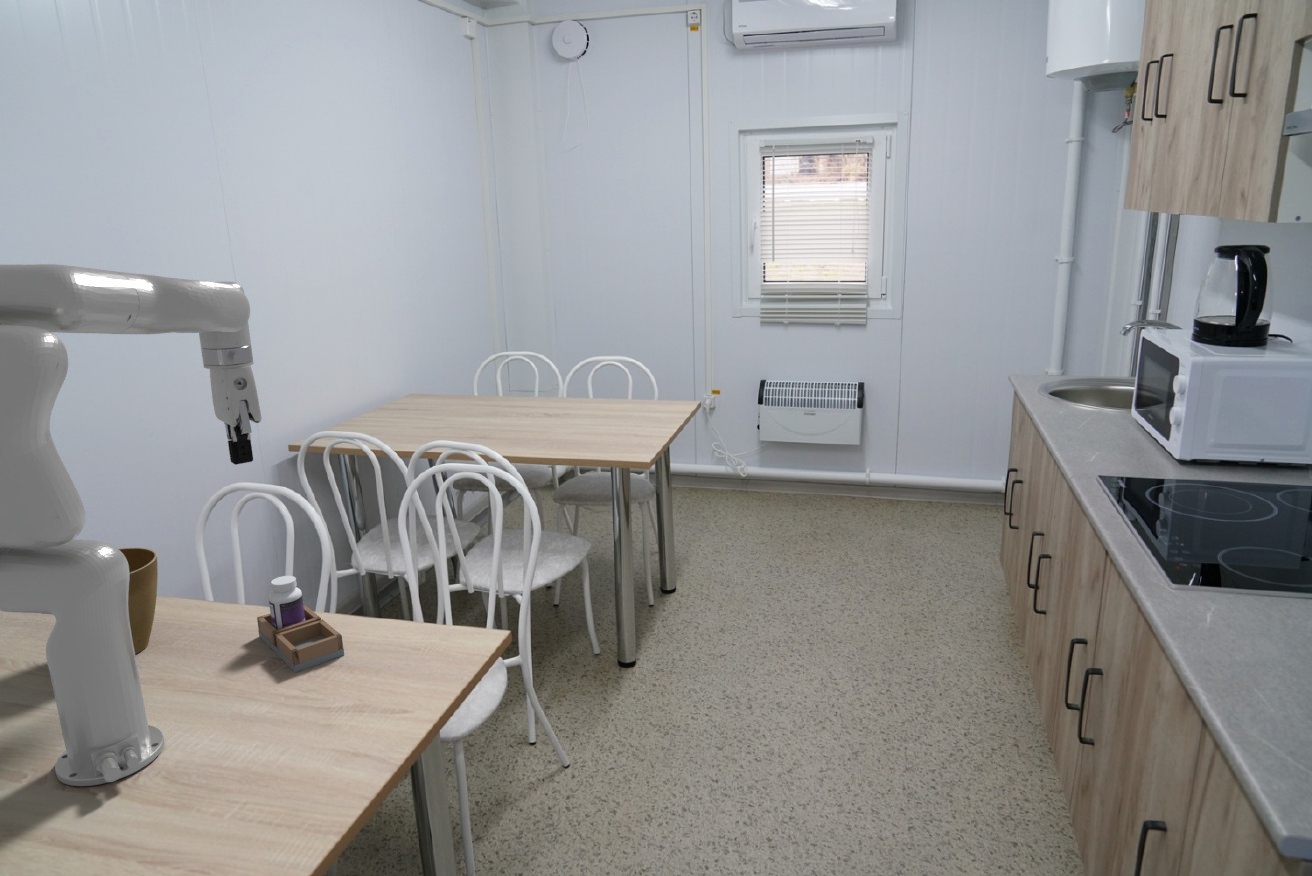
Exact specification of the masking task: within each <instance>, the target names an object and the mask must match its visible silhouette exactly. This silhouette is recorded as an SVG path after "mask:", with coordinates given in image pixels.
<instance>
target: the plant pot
mask: <svg viewBox="0 0 1312 876" xmlns="http://www.w3.org/2000/svg"><path fill="white" fill-rule="evenodd" d="M118 549H119V550H120V551H121V552H122V553H123V554H124V556H125V557H126V559H127V561H128V565H129V573H130V574H129V592H128V611H129V621H130V628H131V634H132V640H133V645H134V651H135V655H136V654H139V653H140V652H142V651H144V650H145V649H146V648H147V647H148V646H149V641H150V638H151V635H152V634H151V633H152V629H153V624H154V618H155V613H156V612H155V611H156V606H157V595H158V593H157V592H158V553H157V552H156V551H155V550H153V549H152V548H151V549H150V548H146V547H123V548H118Z"/></svg>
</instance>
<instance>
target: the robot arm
mask: <svg viewBox="0 0 1312 876" xmlns="http://www.w3.org/2000/svg"><path fill="white" fill-rule="evenodd" d="M250 316H251V307H250V302H249V300H248V298H247V295H246V294H245V290H244V288H243V286H242V285H241V284H240V283H238V282H234V281H207V280H197V279H184V278H173V277H166V276H159V275H152V274H151V275H150V274H144V273H143V274H141V273H132V272H124V271H113V270H105V269H97V268H91V267H90V268H89V267H83V266H82V267H81V266H75V265H67V264H56V263H55V264H51V263H46V264H45V263H44V264H41V263H40V264H37V263H36V264H0V612H5V613H27V614H44V615H52V616H53V617H54V618H55V624H54V625H53V628H52V631H50V634H49V636H48V639H47V640H46V645H45V657H46V663H47V668H48V671H49V675H50V681H51V685H52V690H53V694H54V699H55V703H56V709H57V714H58V719H59V723H60V727H61V733H62V736H63V737H62V738H63V741H64V746H65V747H64V748H65V751H64V752H62V754H60V756H59V757H58V759H57V761H56V762H55V767H54V772H55V774H56V778H57V779H58V781H60V782H61V783H63V784H64V785H68V786H74V787H89V786H90V787H91V786H99V785H102V784H107V783H113V782H116V781H118V780H120V779H123V778H125V777H128V776H130V775H132V774H135V773H136V772H138V771H140V770H141V769H143V768H144V767H146V766H147V765H149V764H150V763H152V762H153V761H154V760H155V759H156V758H157V757H158V756H159V755H160V754H161V752H162V750H163V749H164V746H165V739H164V738H165V737H164V733H163V732H162V730H160V729H159V728H158V727H156V726H154V725H149V723H148V718H147V713H146V712H147V711H146V706H145V702H144V695H143V689H142V684H141V679H140V674H139V669H138V663H137V657H136V654H135V651H134V645H133V640H132V634H131V628H130V621H129V611H128V592H129V574H130V573H129V565H128V561H127V559H126V557H125V556H124V554H123V553H122V552H121V551H120V550H119V549H120V548H117V547H116V546H114V545H112V544H109V543H107V542H103V541H98V540H91V539H76V538H77V537H78V536H79V535H80V534H81V532H82V530H83V529H84V527H85V525H86V524H85V523H86V510H85V507H84V503H83V501H82V499H81V496H80V494H79V492H78V490H77V487H76V486H75V483H74V482H73V480H72V477H71V476H70V474H69V472H68V470H67V468H66V466H65V464H64V462H63V460H62V458H61V456H60V454H59V453H58V450H57V448H56V445H55V442H54V440H53V438H52V434H51V430H50V423H51V416H52V411H53V409H54V406H55V402H56V400H57V398H58V395H59V393H60V391H61V389H62V387H63V384H64V382H65V381H66V377H67V375H68V368H69V355H68V351H67V349H66V346H65V344H64V343H63V341H62V340H61V339H60V337H59V336H57V335H56V334H54V333H57V334H58V333H59V334H60V333H63V334H64V333H66V334H101V335H103V334H105V335H106V334H108V335H109V334H110V335H158V334H159V335H160V334H171V333H173V334H174V333H177V334H198V336H199V337H198V338H199V343H200V349H201V357H202V364H203V368H204V369H208V370H209V377H210V389H211V398H212V405H213V409H214V415H215V417H216V418H217V420H219V421H221V422H222V423H224V427H225V433H226V438H227V444H228V445H227V446H228V451H229V452H228V453H229V458H230V462H231V463H232V464H233V465H241V464H247V463H252V462H253V461H254V455H253V449H252V448H253V447H252V438H251V433H252V432H253V431H252V427H251V423H250V421H251V422H253V423H255V424H259V423H261V421H262V414H261V413H262V412H261V407H260V401H259V396H258V391H257V385H256V381H255V376H254V373H253V372H254V371H253V370H252V365H254V356H253V349H252V343H251V342H252V341H251V335H250V334H251V333H250V326H249V320H250Z"/></svg>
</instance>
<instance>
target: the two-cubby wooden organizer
mask: <svg viewBox="0 0 1312 876" xmlns="http://www.w3.org/2000/svg"><path fill="white" fill-rule="evenodd" d="M303 607H304V614H305V621H303V622H300V623H297V624H294V625H291V626H288V627H285V628H281V629H278V630H276V629H275V628H274V627H273V626H272V621H271V613H267V614H264V615H261V616H257V617H256V620H257V627H258V628H257V629H258V636H259V638H260V639H261V640H262V641H263V642H264V643H265V644H266V645H267V646H268V647H269V648H270V649H271V650H272V651H273V652H274V653H275V654H276V655H277V656H278V657H279V658H280V659H281V660H282V661H283V662H284V663H285V664H286V665H288V667H289V668H290V669H291V670H292V671H293V672H294V673H298V672H301V671H303V670H306V669H310V668H312V667H314V666H318V665H320V664H324V663H325V662H330V661H332V660H334V659H337V658H340V657H343V656H345V650H344V643H343V635H342V634H341V633H340V632H339V631H337V630H336V629H335V628H334V627H333V626H331V625H330V624H329V623H328V622H326V621H325V620H324V619H322V618H321V616H319V615H318V614H317V613H316V612H314V611H313V610H312V609H311V608H309V607H308V606H307V605H306V604H305V603H303Z"/></svg>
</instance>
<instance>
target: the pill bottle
mask: <svg viewBox="0 0 1312 876" xmlns="http://www.w3.org/2000/svg"><path fill="white" fill-rule="evenodd" d="M270 584H271V585H270V587H271V592H270V594H269V595H268V606H269V611H270V613H271V621H272V626H273V627H274V628H275V629H276V630H278V629H281V628H285V627H288V626H291V625H294V624H297V623H300V622H303V621H305V614H304V607H303V604H304V599H303V593H302V592H303V591H302V590H301V589H300V588H299V587H297V577H295V576H293V575H283V576H278V577H275V578H274V579H272V580H271V582H270ZM270 613H269V614H270Z"/></svg>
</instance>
